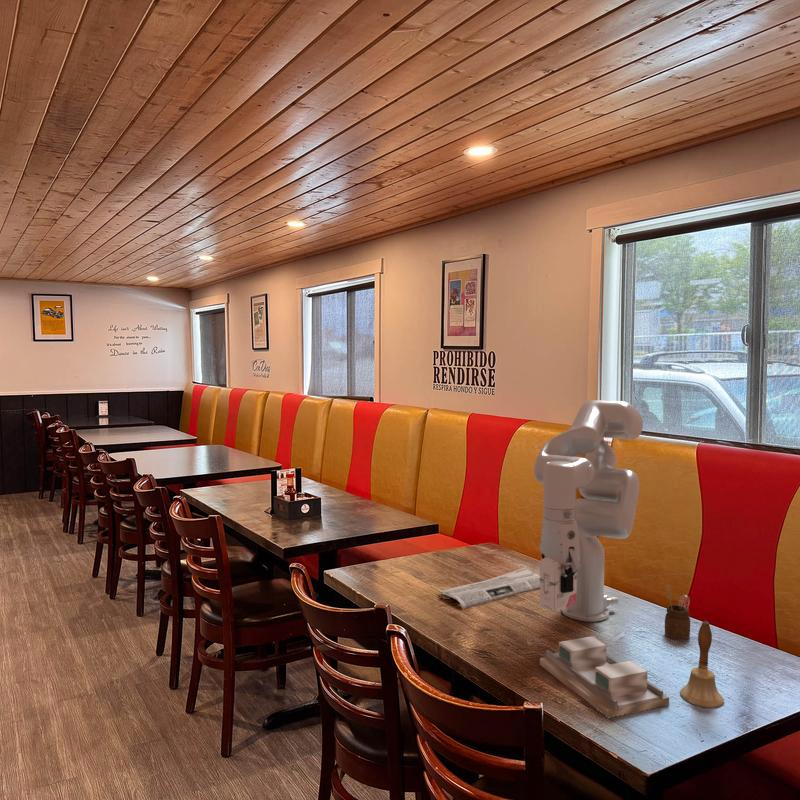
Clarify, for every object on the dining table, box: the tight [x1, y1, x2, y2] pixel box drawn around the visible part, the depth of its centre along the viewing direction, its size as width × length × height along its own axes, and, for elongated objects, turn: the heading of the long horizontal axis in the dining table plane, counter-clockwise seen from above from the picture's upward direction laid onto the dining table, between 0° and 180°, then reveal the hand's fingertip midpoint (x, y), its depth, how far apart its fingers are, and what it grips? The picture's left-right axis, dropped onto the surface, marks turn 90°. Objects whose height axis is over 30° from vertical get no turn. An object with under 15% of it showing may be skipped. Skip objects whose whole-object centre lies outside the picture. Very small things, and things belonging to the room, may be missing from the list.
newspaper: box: [439, 566, 540, 610], centre depth 198 cm, size 35×12×4 cm, turn 124°
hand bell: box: [679, 620, 725, 709], centre depth 135 cm, size 8×8×16 cm
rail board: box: [539, 635, 670, 718], centre depth 141 cm, size 15×24×6 cm, turn 21°
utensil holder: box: [664, 584, 691, 641], centre depth 166 cm, size 6×6×12 cm
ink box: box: [539, 557, 577, 613], centre depth 158 cm, size 9×5×12 cm, turn 128°
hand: (558, 586), depth 158 cm, fingers closed on ink box, 6 cm apart
